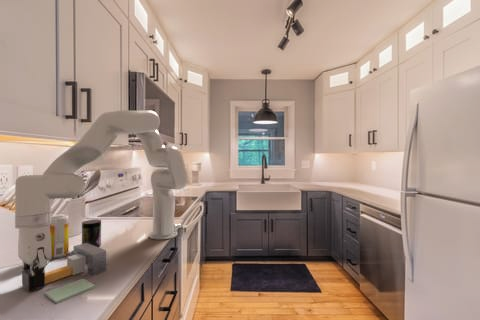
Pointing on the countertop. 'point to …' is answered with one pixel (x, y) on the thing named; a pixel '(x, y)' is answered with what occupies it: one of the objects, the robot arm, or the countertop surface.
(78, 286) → the mat
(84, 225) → the supplement container
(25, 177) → the robot arm
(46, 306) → the countertop surface
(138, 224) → the countertop surface
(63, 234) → the beer can
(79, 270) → the plug
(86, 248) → the block
